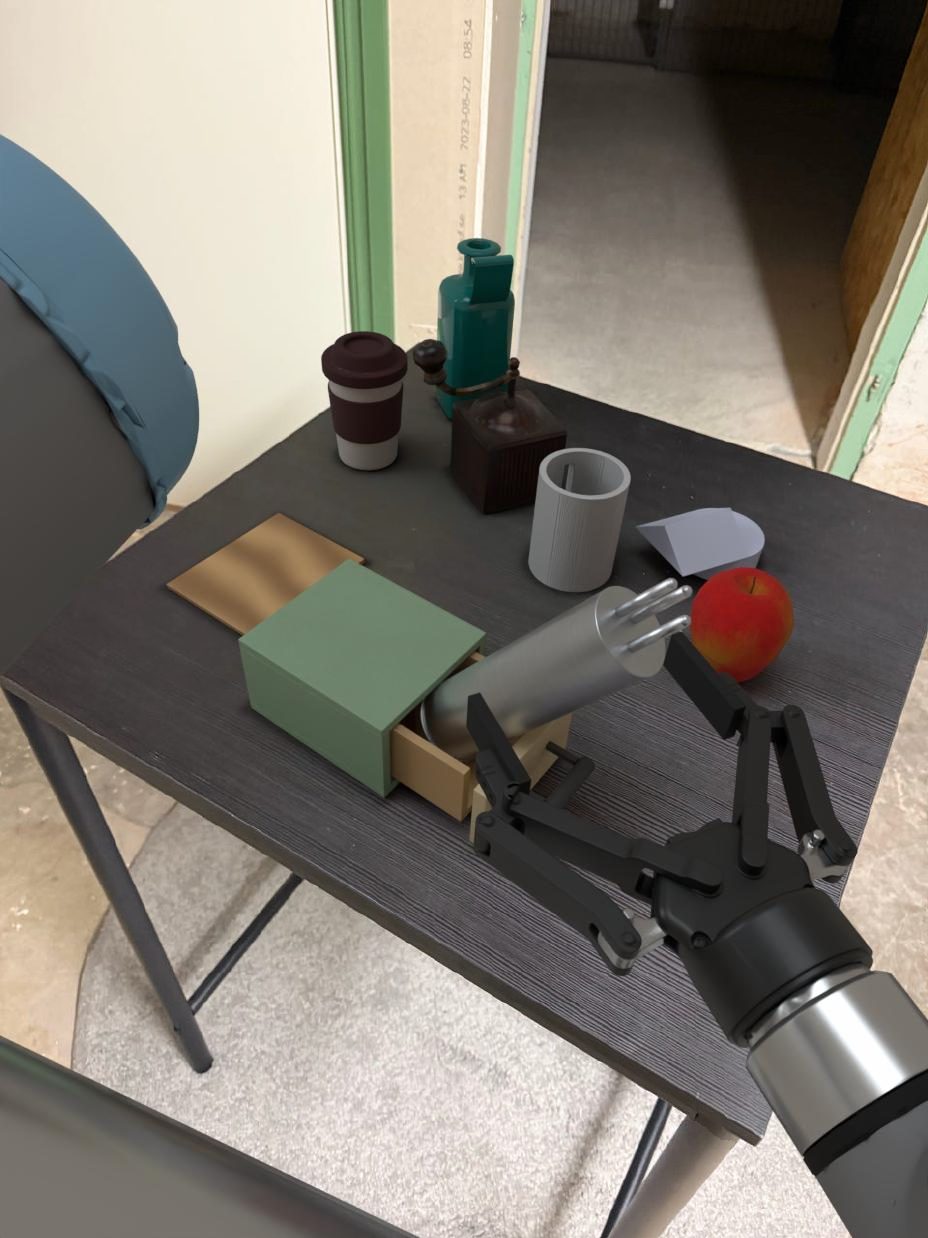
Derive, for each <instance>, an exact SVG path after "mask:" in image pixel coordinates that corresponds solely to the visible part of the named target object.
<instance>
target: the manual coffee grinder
mask: <svg viewBox="0 0 928 1238" xmlns="http://www.w3.org/2000/svg"><path fill="white" fill-rule="evenodd" d="M447 356H448V351H447V349H446V348H445V346H444V345H443V343H442V342H441V341H438V340H437V339H433V338H428V339H424V340H422V341H421V342H419V343H418V344H416V345H415V347H413V351H412V359H413V362H414V364H415V365H416V366H418V367H419V368H420V369H421V370H422V371H423V373H424V374H423V382H424V383H425V384H427V385H429V386H435V387H436V386H437V388H439V389H440V390H442V391H443V392H444V393H446V394H449V395H452V396H467V395H473V394H477V393H480V392H484V391H487V390H490V389H493V388H494V392H493V393H488V394H485V395H482V396H481V397H479V398H476V399H471V400H465V401H460V402H455V403H453V406H452V420H451V443H450V444H451V445H450V460H449V465H448V468H449V470H450V473H451V474H452V476H453V478H454V480H455V482H456V483H457V485H458V486H459V487H460V489H461V490H462V492H463V493H464V494H465V496H466V497H467V499H468V500H469V501H470V502H471V503H472V504H473V506H475V508H476V509H478V510H479V511H480V512H481V514H483V515H487V514H495V513H496V514H498V513H501V512H506V511H510V510H514V509H519V508H522V507H528V506H530V505H535V502H536V493H537V485H538V477H539V469H540V465H541V463H542V461H543V460H544V458H546V457H547V456H548V455H550V454H552V453H554V452H556V451H559V450H563V449H566V445H567V438H568V430H567V429H566V427H565V426H564V425H563V424H562V423H561V422H560V421H559V420H558V418H557V417H556V416H555V415H554V414H553V413H552V412H551V411H550V410H549V409H548V407H546V406H545V405H544V403H542V401H541V400H540V399H539V398H538V397H537V396H536V395H535V394H534V393H533V392H532V391H531V390H530V389H529V388H526V389H521V390H516V388H517V381H518V380H517V379H518V378H519V377H520V375H521V372H520V370H519V368H520V364H521V361H520V360H519V358H517V357H515V356H511V357H510V360H509V361H508V363H509V369H508V370H507V372H506V374H504V375H502V376H501V377H498V378H496V379H494V380H493V381H490V382H487V383H484V384H480V385H476V386H473V387H469V388H453V387H451V386H449V385H448V384H447V383H445V380H446V379H447V376H448V374H447V372H446V371H445V369H444V367H443V365H444V363H445V361H446V359H447ZM507 382H508V390H507V392H501V387H500V386H501V385H503V384H505V383H507Z"/></svg>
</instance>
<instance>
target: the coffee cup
mask: <svg viewBox="0 0 928 1238" xmlns="http://www.w3.org/2000/svg"><path fill="white" fill-rule="evenodd" d="M320 362H321V363H320V364H321V371H322V374H323V375H324V377H325V378H326V379H327V381H328V382H327V393H328V399H329V406H330V413H331V419H332V426H333V430H334V432H335V434H336V442H337V448H338V449H337V450H338V455H339V458H340V460H341V461H342V462H343V463H344V464H345V465H346V466H348V467H350V468H353V469H355V470H359V471H376V470H381V469H384V468H386V467H389V466H390V465H391V464H392V463H393V462H395V460H396V458H397V455H398V449H399V447H398V446H399V432H400V430H401V428H402V427H401V426H402V415H403V414H402V413H403V399H404V383H403V378H404V377H405V376H406V374H407V373H408V354H407V353H406V351H405V349H403V348H402V347H401V346H400V345H398V344H396V343H395V342H394V341H393V340H392V338H389V337H388V336H387V335H385V334H383V333H380V332H377V331H376V332H375V331H370V330H369V331H368V330H359V331H358V330H357V331H352V332H348V333H345V334H343V335H341V336H339V337H338V338H337V339H336V340H335V341H334V343H333V344H331V345H329V346H328V347H327V348H325V349H324V350H323V351H322V354H321V356H320Z"/></svg>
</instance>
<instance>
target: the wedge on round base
mask: <svg viewBox="0 0 928 1238" xmlns="http://www.w3.org/2000/svg"><path fill="white" fill-rule="evenodd" d="M635 529H637V531H638V532H639V533H640V534H641V535H642V536H643V537H644V538H645V539H646V540H647V541H648V542H649V544H651V545H652V547H654V548H655V550H657V551H658V553H660V554H661V556H662V557H663V558H665V560H666V561H667V562H668V563H669V564H670V565H671V566H672V567H673V568H674V569H675V570H676V571H677V572H678V574H680V575H681V577H686V576H690V575H694V576H696V577H698V578H701V579H703V580H707V581H708V580H709V579H710V578H711V577H713V576H714V575H716V574H718V573H720V572H722V571H726V570H730V569H734V568H739V567H748V568H756V569H757V566H758V563H759V560H760V557H761V554H762V551H763V549H764V546H765V541H766V539H765V534H764V532H763V530H762V529H761V527H760V526H759V525H758V524H757V523H756V522H755V521H754V520H752V519H751V518H749V517H747V516H746V515H743V514H741V513H740V512H737V511H735V510H734V511H733V510H732V507H706V508H705V507H704V508H699V509H696V510H692V511H688V512H684V513H681V514H677V515H674V516H670V517H666V518H663V519H659V520H654V521H651V522H647V523H644V524H640V525H637V526H635Z"/></svg>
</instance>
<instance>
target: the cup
mask: <svg viewBox="0 0 928 1238" xmlns="http://www.w3.org/2000/svg"><path fill="white" fill-rule="evenodd" d="M567 465H568V471H567V478H566V484H565V489H564V488H562V486H563V480H564V474H565V466H567ZM631 481H632V477H631V472H630V470H629V468H628V467H627V466H626V465H625V464H624V463H623V462H622V461H621V460H620V459H618V458H617V457H615V456H613V455H611V454H609V453H607V452H604V451H601V450H597V449H593V448H586V447H569V448H565V449H563V450H559V451H556V452H554V453H552V454H550V455H548V456H547V457H546V458H544V460H543V461H542V463H541V465H540V469H539V477H538V485H537V493H536V502H535V503H534V510H533V520H532V528H531V535H530V543H529V552H528V553H529V554H528V560H527V562H528V563H527V564H528V567H529V571H530V572H531V574H532V575H533V576H534V577H535V579H537V580H538V581H539V582H540V583H542V584H543V585H544V586H547V587H549V588H551V589H554V590H557V591H560V592H565V593H567V592H568V593H585V592H590V591H593V590H596V589H598V588H601V587H602V586H603V585H604V584H606V582H608V581H609V579H610V578H611V575H612V571H613V566H614V562H615V557H616V553H617V548H618V542H619V538H620V533H621V529H622V523H623V519H624V514H625V509H626V503H627V500H628V495H629V490H630V485H631Z"/></svg>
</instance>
